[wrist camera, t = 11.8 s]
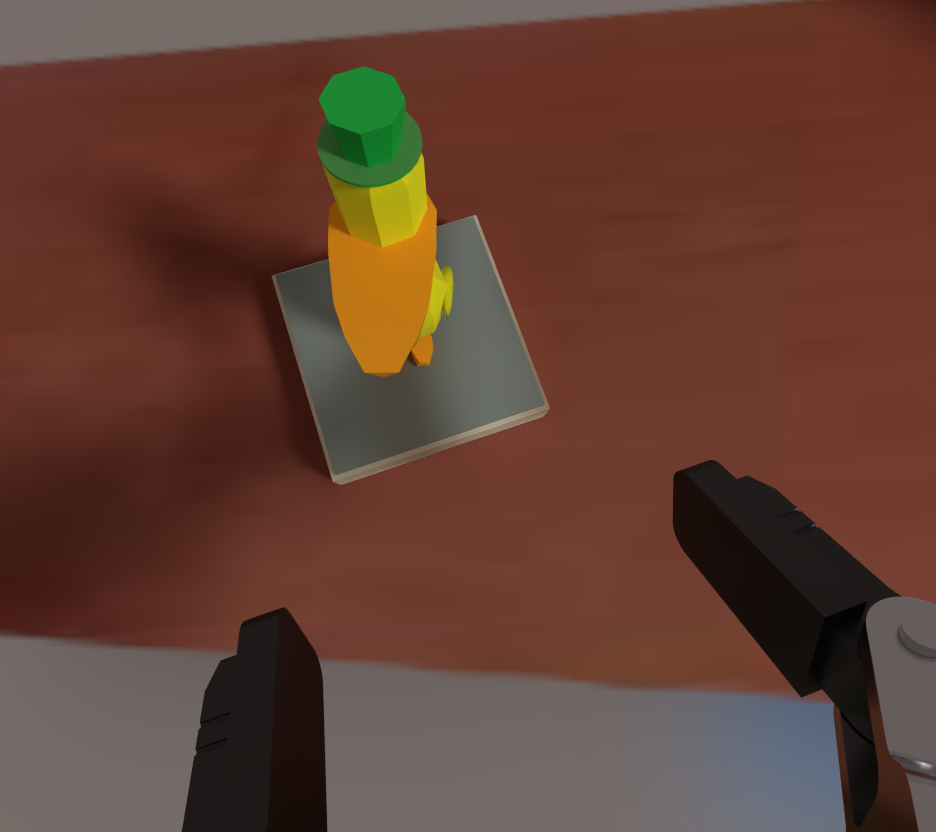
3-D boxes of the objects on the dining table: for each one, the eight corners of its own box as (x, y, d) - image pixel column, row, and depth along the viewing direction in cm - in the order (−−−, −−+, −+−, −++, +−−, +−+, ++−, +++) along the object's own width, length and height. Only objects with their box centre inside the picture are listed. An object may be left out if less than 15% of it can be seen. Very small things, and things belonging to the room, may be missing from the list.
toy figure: (454, 429, 21) (458, 317, 9) (362, 430, 21) (246, 317, 9) (452, 268, 22) (453, -14, 10) (365, 268, 22) (267, -17, 10)
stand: (474, 235, 25) (476, 210, 23) (542, 416, 23) (551, 406, 21) (283, 292, 24) (268, 272, 22) (341, 484, 22) (330, 481, 20)
